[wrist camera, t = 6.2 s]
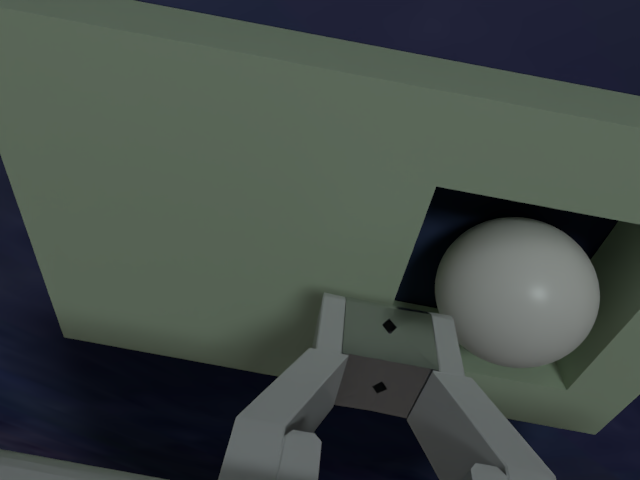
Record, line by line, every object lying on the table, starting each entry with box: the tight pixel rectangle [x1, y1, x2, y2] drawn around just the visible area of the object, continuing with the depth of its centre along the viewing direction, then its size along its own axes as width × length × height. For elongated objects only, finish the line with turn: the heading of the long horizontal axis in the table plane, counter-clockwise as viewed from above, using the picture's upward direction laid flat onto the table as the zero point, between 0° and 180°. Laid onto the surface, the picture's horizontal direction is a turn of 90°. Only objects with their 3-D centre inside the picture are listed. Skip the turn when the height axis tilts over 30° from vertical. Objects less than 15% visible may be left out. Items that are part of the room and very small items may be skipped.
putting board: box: [0, 0, 640, 434], centre depth 12 cm, size 18×10×2 cm, turn 81°
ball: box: [435, 217, 600, 368], centre depth 11 cm, size 4×4×4 cm
